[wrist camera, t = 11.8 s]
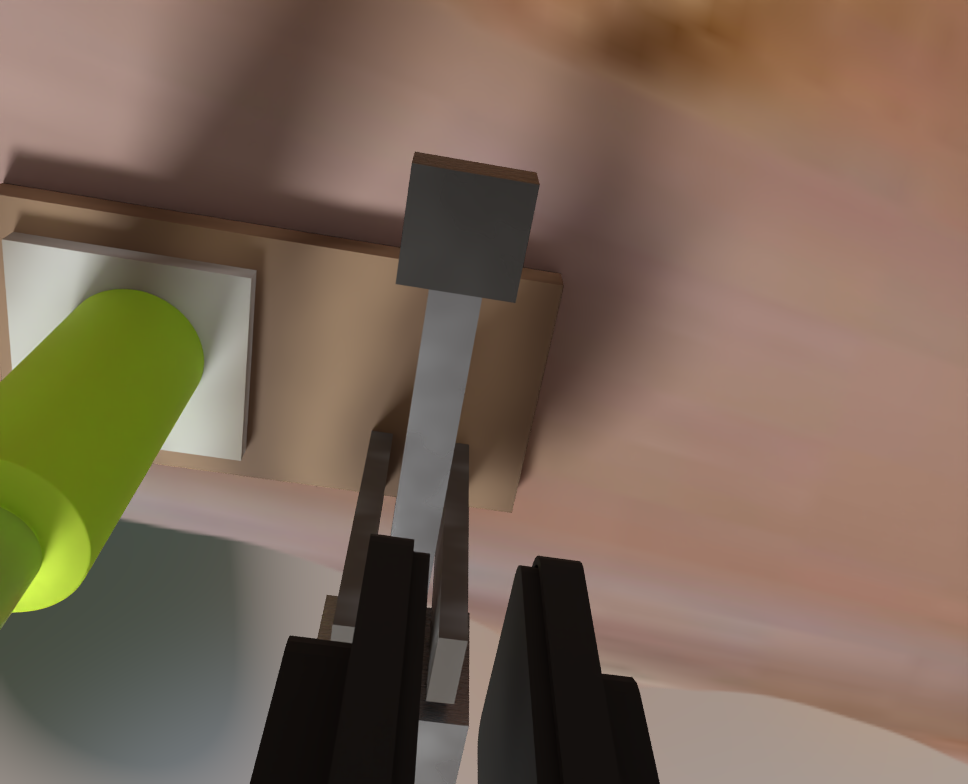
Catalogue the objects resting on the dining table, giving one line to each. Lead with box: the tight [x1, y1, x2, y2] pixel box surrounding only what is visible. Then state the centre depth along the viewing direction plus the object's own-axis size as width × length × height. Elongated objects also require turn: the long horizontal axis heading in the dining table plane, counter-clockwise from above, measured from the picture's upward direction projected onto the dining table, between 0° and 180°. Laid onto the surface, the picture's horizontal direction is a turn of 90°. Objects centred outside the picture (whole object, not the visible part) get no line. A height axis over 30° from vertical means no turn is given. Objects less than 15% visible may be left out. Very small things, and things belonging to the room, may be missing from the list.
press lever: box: [317, 152, 540, 784], centre depth 31 cm, size 6×23×6 cm, turn 170°
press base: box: [0, 183, 564, 704], centre depth 35 cm, size 24×12×14 cm, turn 80°
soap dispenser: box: [0, 289, 204, 629], centre depth 29 cm, size 6×7×20 cm
